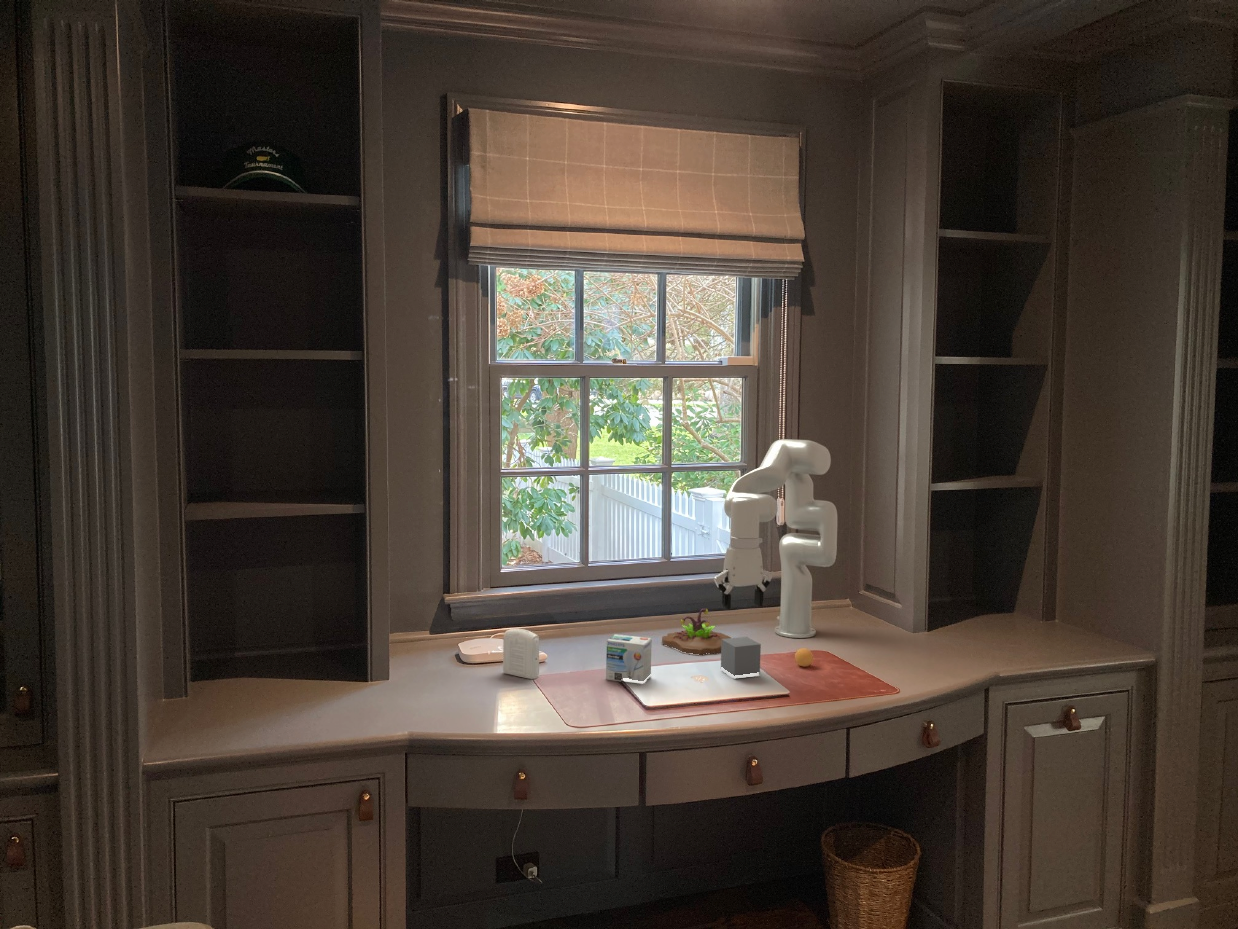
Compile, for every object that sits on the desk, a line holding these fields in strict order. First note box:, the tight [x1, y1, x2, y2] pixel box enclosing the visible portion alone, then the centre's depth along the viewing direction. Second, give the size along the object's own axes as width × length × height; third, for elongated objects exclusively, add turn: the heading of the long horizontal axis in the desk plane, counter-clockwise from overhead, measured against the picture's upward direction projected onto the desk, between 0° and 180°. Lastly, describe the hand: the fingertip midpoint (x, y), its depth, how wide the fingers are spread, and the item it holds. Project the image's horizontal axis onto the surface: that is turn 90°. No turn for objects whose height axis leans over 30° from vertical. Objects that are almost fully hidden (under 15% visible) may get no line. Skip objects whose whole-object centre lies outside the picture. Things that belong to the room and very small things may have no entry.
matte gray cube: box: [720, 636, 762, 676], centre depth 246 cm, size 8×8×9 cm
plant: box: [661, 608, 732, 656], centre depth 273 cm, size 20×20×11 cm
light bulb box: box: [605, 633, 653, 683], centre depth 241 cm, size 11×7×11 cm, turn 70°
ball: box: [794, 647, 814, 668], centre depth 254 cm, size 5×5×5 cm
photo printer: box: [502, 628, 540, 680], centre depth 243 cm, size 10×4×12 cm, turn 60°
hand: (742, 606), depth 245 cm, fingers open, 9 cm apart
